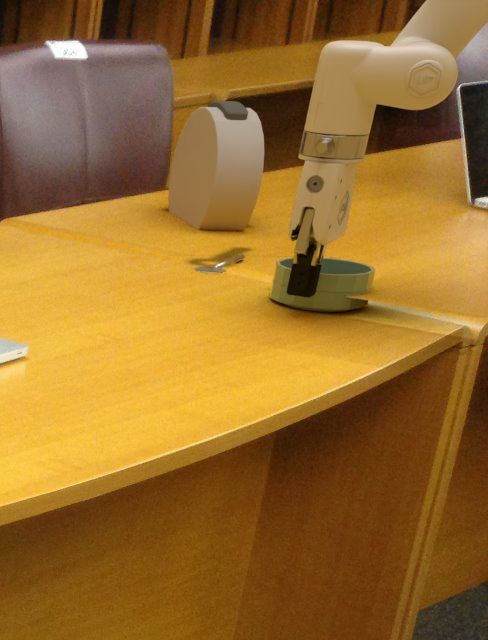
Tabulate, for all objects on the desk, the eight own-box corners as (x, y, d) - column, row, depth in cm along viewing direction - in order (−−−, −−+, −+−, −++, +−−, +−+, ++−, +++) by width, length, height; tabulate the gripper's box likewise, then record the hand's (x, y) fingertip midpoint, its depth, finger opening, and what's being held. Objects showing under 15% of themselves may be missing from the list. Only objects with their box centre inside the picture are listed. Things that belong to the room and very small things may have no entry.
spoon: (226, 258, 233) (228, 251, 233) (256, 261, 231) (257, 255, 230) (188, 275, 222) (190, 268, 222) (219, 279, 220) (220, 272, 219)
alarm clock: (249, 240, 247) (277, 111, 238) (203, 239, 247) (229, 110, 238) (204, 214, 266) (229, 93, 256) (161, 213, 266) (184, 92, 256)
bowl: (378, 302, 206) (386, 265, 204) (348, 318, 198) (357, 279, 196) (287, 290, 213) (295, 253, 211) (255, 304, 205) (262, 266, 203)
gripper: (348, 156, 184) (313, 309, 192) (380, 144, 194) (346, 290, 202) (283, 150, 188) (252, 300, 196) (318, 139, 198) (287, 281, 206)
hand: (300, 294), depth 199 cm, fingers closed
